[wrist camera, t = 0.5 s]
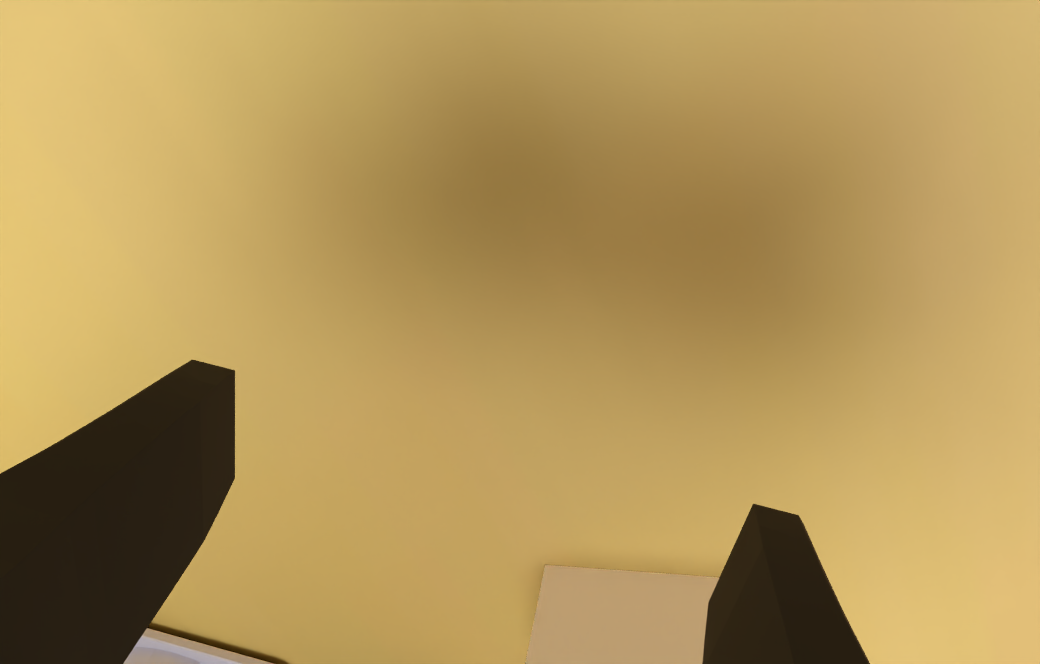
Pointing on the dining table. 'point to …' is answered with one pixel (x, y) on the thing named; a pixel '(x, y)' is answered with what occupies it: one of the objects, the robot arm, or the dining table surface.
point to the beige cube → (619, 617)
